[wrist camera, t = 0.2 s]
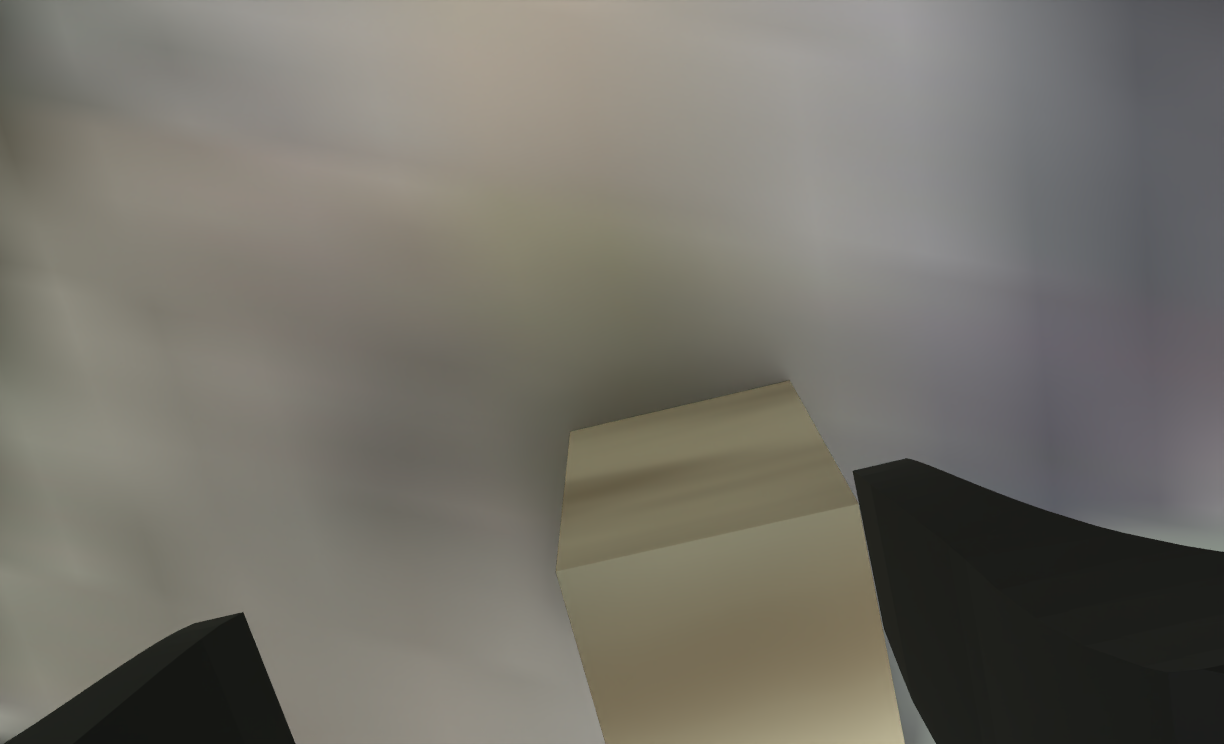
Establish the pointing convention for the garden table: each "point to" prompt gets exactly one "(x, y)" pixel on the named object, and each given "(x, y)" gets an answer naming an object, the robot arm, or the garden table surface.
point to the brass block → (722, 579)
